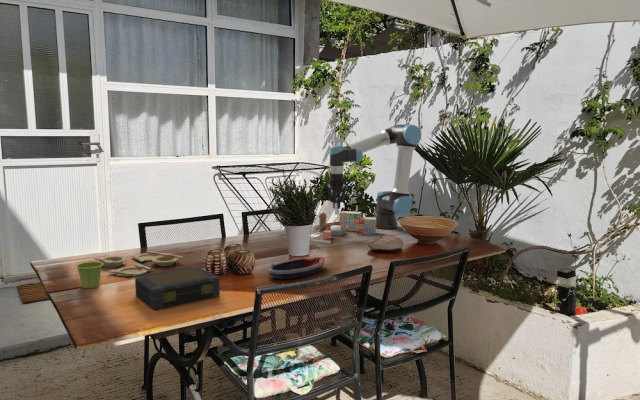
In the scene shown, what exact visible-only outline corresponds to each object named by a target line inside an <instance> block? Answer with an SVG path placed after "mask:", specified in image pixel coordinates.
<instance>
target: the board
mask: <svg viewBox="0 0 640 400" xmlns="http://www.w3.org/2000/svg"><path fill="white" fill-rule="evenodd" d="M326 231H332V236H334V237H342V236H343V235H345V234H346V233H347V230H346V229H344V228H341V231H333V230H331V227H330V228H326ZM310 235H311V236H310V237H311V243H321V244H328V245H329V244H331V243H334V242H335V240H331V239H319V238H317V237H320V236H321V235H322V236H323V232H318V231H317V232H314V233H312V234H310Z"/></svg>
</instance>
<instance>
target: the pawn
mask: <svg viewBox="0 0 640 400" xmlns="http://www.w3.org/2000/svg"><path fill="white" fill-rule="evenodd" d="M327 217H328V216H327V214H326V212H320V213H319V214H318V219H319V221H318V223H319V224H318V225H319V226H318V227H319V229H318V230H317V232H318V233H321V232H324V231H326V230H327Z"/></svg>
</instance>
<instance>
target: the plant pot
mask: <svg viewBox="0 0 640 400" xmlns="http://www.w3.org/2000/svg"><path fill="white" fill-rule="evenodd" d="M103 266H104V264H103V263H101V262H99V261H87V262H86V261H85V262H81V263H78V264H77V265H76V266H75V268H77V271H78V275H79V279H80V283H81V287H82V288H83V289H96V288H98V287H99V286H100V283H101V273H102V267H103Z"/></svg>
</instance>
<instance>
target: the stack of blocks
mask: <svg viewBox="0 0 640 400" xmlns="http://www.w3.org/2000/svg"><path fill="white" fill-rule="evenodd" d="M362 215H363V212H362V211H345V210H342V211H341V212H340V211H339V226H341V228H344V229H346V232H348V231H349V232H351V231H352V232H357V234H358V235H370V234H372V235H371V236H373V235H376V234H375V233H377V228H376V220H377V218H376V217H370V216H369V217H367V216H366V217H365V216H362Z"/></svg>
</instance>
